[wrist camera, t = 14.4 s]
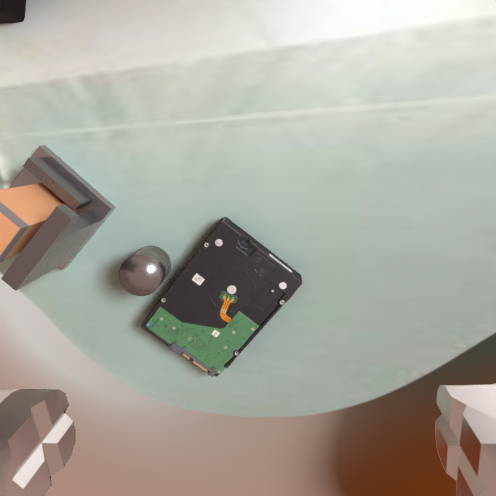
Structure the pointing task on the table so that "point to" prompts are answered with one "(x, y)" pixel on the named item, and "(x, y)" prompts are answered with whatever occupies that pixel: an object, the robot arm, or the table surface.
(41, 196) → the orange tall block
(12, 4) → the sign
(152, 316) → the disk drive
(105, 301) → the table surface
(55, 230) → the keeper
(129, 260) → the link stub
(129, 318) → the table surface
